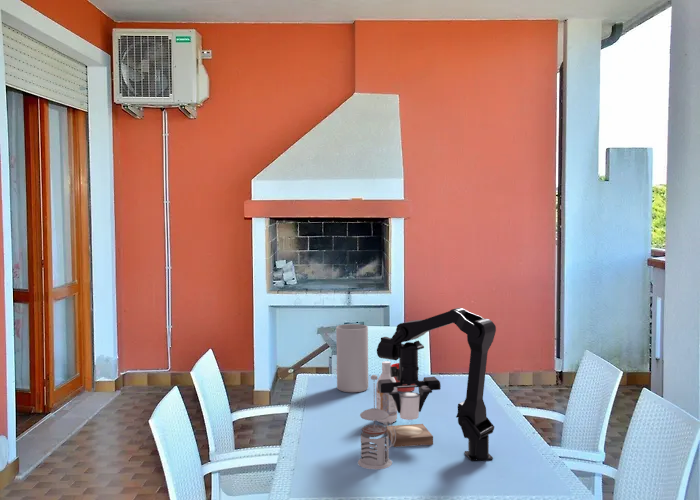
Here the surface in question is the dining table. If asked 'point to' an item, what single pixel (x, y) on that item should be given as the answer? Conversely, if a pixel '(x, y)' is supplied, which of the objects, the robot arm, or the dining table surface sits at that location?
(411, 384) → the flower pot
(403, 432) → the walnut plinth
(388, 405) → the bath foam
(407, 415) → the white cup
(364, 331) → the cylinder vase
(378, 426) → the french press
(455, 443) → the dining table surface
